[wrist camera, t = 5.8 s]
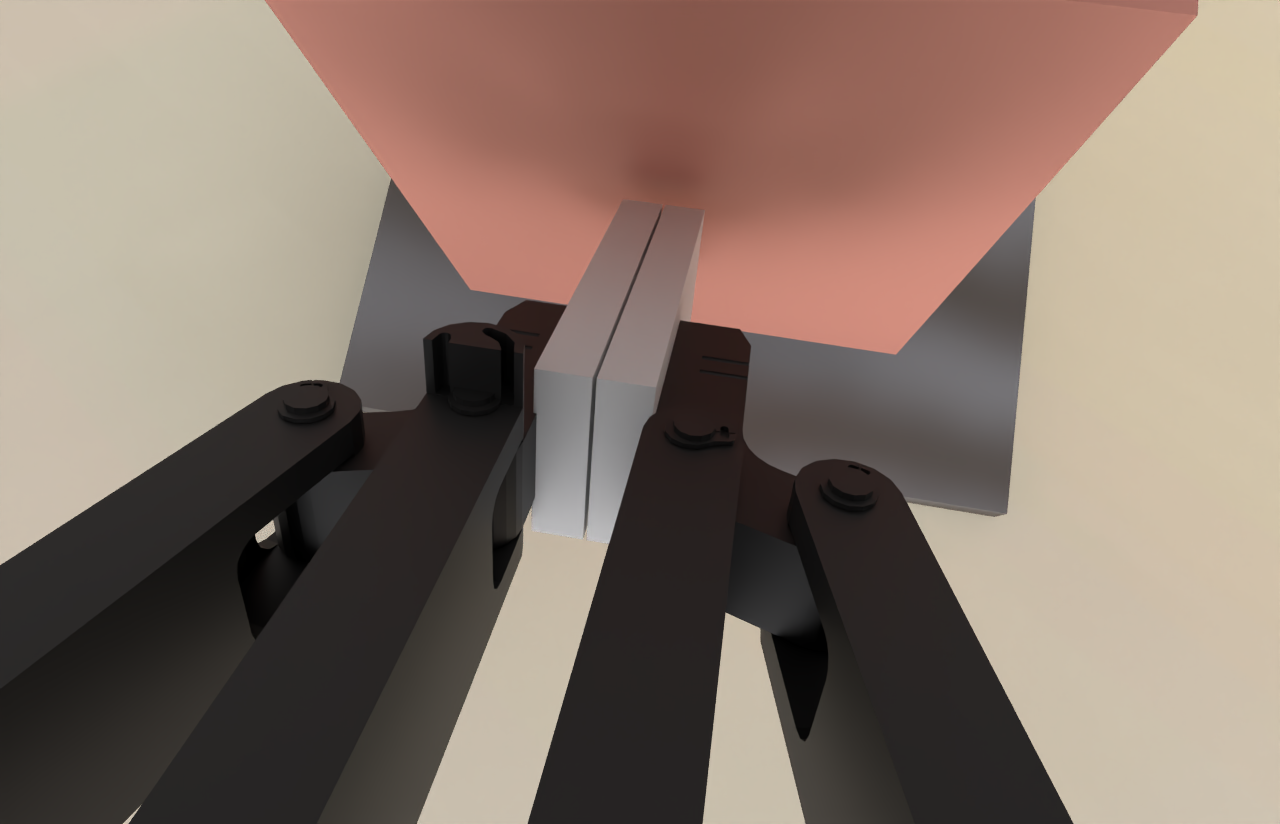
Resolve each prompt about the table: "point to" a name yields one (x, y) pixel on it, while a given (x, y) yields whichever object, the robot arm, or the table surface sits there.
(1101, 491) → the table surface
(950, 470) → the housing
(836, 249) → the red flanged plug
